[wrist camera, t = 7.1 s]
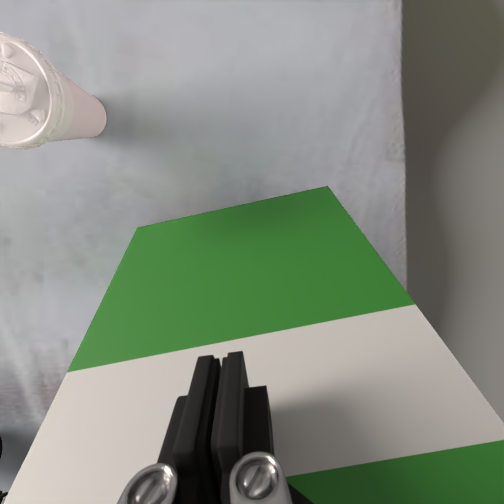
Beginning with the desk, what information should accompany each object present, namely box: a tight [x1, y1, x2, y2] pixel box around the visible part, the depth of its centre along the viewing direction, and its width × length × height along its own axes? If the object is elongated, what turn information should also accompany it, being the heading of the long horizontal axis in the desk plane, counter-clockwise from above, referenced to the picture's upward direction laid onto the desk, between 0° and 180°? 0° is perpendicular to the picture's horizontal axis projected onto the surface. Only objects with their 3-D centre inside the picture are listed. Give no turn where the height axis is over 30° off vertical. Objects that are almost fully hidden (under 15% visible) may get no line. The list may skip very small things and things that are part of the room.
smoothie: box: [0, 32, 107, 149], centre depth 20 cm, size 6×6×14 cm
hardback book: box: [3, 186, 504, 504], centre depth 20 cm, size 18×7×24 cm, turn 102°
